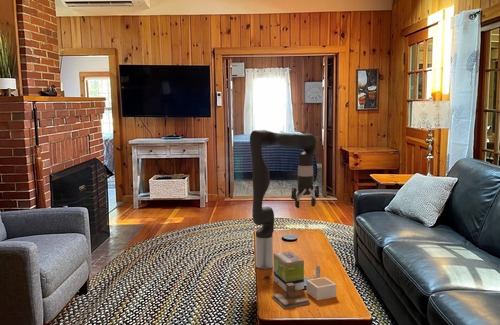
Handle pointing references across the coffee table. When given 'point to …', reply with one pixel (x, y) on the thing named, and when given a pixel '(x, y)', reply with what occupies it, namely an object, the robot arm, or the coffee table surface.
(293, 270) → the tea box
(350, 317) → the coffee table surface
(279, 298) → the lid
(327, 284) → the white square box
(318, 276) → the architectural model
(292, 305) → the mat
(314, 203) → the robot arm
